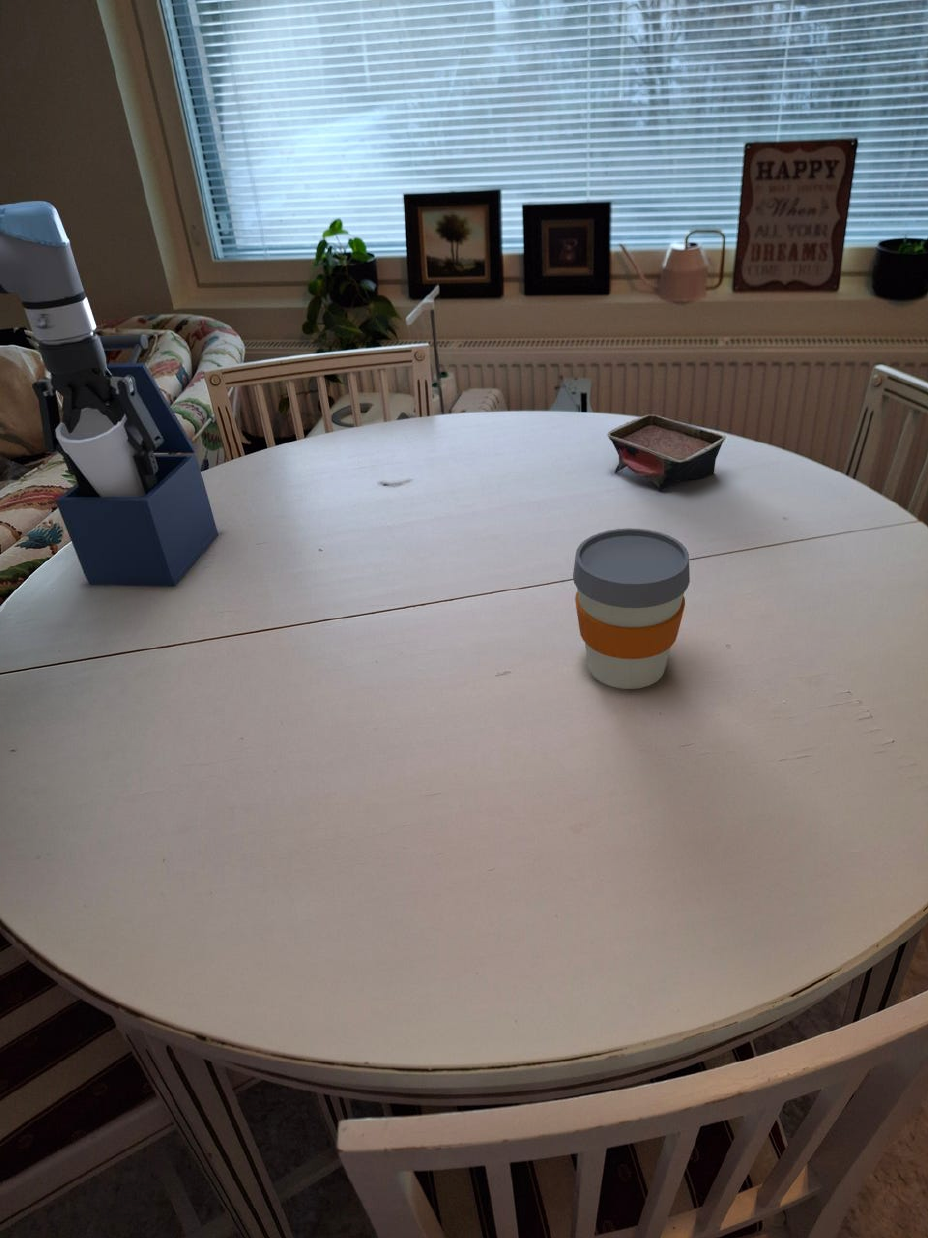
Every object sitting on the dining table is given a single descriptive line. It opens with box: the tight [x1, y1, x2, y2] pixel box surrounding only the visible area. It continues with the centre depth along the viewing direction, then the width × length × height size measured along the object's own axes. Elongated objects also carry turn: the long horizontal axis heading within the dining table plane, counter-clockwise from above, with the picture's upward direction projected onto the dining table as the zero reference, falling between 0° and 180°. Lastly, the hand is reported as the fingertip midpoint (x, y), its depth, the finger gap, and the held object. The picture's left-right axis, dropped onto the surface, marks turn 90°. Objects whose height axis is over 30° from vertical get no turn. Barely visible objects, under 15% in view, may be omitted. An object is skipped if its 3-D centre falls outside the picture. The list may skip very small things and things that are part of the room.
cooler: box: [54, 453, 219, 587], centre depth 122 cm, size 16×14×14 cm
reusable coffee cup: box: [572, 527, 691, 690], centre depth 90 cm, size 13×13×15 cm
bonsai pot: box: [606, 413, 727, 491], centre depth 135 cm, size 14×18×10 cm
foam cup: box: [56, 404, 146, 497], centre depth 113 cm, size 10×9×13 cm
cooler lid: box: [99, 333, 197, 454], centre depth 119 cm, size 17×14×9 cm
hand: (121, 494), depth 116 cm, fingers closed on foam cup, 9 cm apart
